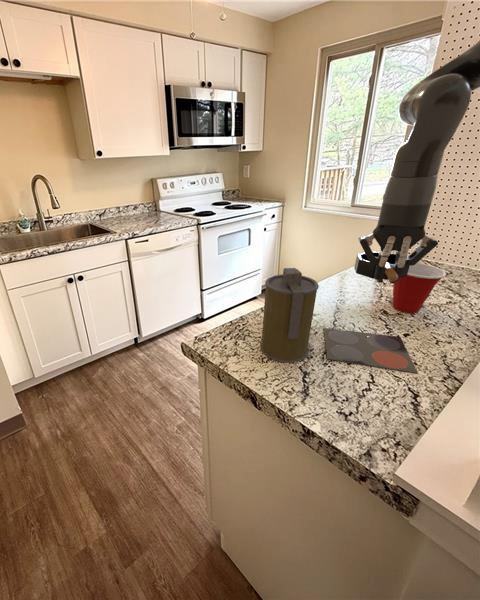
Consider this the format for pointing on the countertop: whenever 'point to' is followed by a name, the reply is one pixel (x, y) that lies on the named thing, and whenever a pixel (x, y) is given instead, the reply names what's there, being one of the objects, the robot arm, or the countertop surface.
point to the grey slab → (368, 350)
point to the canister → (288, 315)
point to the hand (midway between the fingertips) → (385, 281)
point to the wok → (368, 268)
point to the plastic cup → (415, 287)
